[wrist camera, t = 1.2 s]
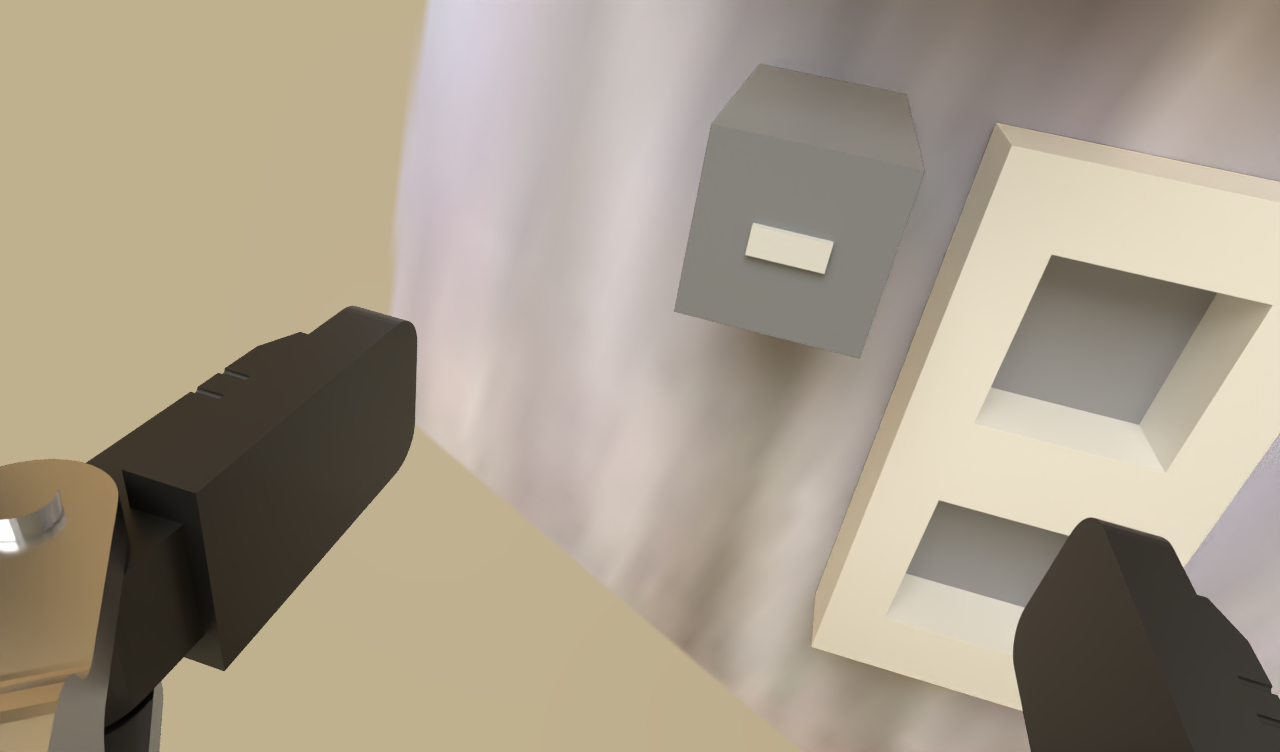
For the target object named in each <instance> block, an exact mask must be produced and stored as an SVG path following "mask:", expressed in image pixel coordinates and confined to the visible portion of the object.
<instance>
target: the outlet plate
mask: <svg viewBox="0 0 1280 752" xmlns="http://www.w3.org/2000/svg"><path fill="white" fill-rule="evenodd" d="M1279 433H1280V182H1278V181H1273V180H1268V179H1263V178H1259V177H1254V176H1249V175H1244V174H1240V173H1235V172H1230V171H1225V170H1220V169H1216V168H1211V167H1206V166H1201V165H1197V164H1192V163H1187V162H1182V161H1177V160H1173V159H1168V158H1163V157H1158V156H1154V155H1149V154H1144V153H1139V152H1135V151H1130V150H1125V149H1120V148H1115V147H1111V146H1106V145H1101V144H1096V143H1092V142H1087V141H1082V140H1077V139H1072V138H1068V137H1063V136H1058V135H1053V134H1049V133H1044V132H1039V131H1034V130H1030V129H1025V128H1020V127H1015V126H1010V125H1006V124H1001V123H996V124H995V127H994V129H993V132H992V135H991V137H990V140H989V142H988V145H987V148H986V150H985V153H984V155H983V158H982V161H981V163H980V166H979V168H978V171H977V174H976V176H975V179H974V181H973V184H972V187H971V189H970V192H969V195H968V197H967V200H966V202H965V205H964V208H963V210H962V213H961V215H960V218H959V221H958V223H957V226H956V228H955V231H954V234H953V236H952V239H951V241H950V244H949V247H948V249H947V252H946V254H945V257H944V260H943V262H942V265H941V268H940V270H939V273H938V275H937V278H936V281H935V283H934V286H933V288H932V291H931V294H930V296H929V299H928V301H927V304H926V307H925V309H924V312H923V314H922V317H921V320H920V322H919V325H918V327H917V330H916V333H915V335H914V338H913V341H912V343H911V346H910V348H909V351H908V354H907V356H906V359H905V361H904V364H903V367H902V369H901V372H900V374H899V377H898V380H897V382H896V385H895V387H894V390H893V393H892V395H891V398H890V400H889V403H888V406H887V408H886V411H885V414H884V416H883V419H882V421H881V424H880V427H879V429H878V432H877V434H876V437H875V440H874V442H873V445H872V447H871V450H870V453H869V455H868V458H867V460H866V463H865V466H864V468H863V471H862V473H861V476H860V479H859V481H858V484H857V487H856V489H855V492H854V494H853V497H852V500H851V502H850V505H849V507H848V510H847V513H846V515H845V518H844V520H843V523H842V526H841V528H840V531H839V533H838V536H837V539H836V541H835V544H834V546H833V549H832V552H831V554H830V557H829V560H828V562H827V565H826V567H825V570H824V573H823V575H822V578H821V580H820V583H819V586H818V588H817V591H816V594H815V607H814V620H813V633H812V646H811V647H813V648H817V649H820V650H823V651H826V652H830V653H833V654H836V655H840V656H843V657H846V658H849V659H853V660H856V661H859V662H863V663H866V664H869V665H872V666H876V667H879V668H882V669H886V670H889V671H892V672H895V673H899V674H902V675H905V676H909V677H912V678H915V679H918V680H922V681H925V682H928V683H932V684H935V685H938V686H941V687H945V688H948V689H951V690H955V691H958V692H961V693H964V694H968V695H971V696H974V697H978V698H981V699H984V700H987V701H991V702H994V703H997V704H1001V705H1004V706H1007V707H1010V708H1014V709H1017V710H1020V711H1023V710H1022V705H1021V700H1020V695H1019V690H1018V685H1017V680H1016V675H1015V670H1014V664H1013V644H1014V637H1015V632H1016V628H1017V625H1018V622H1019V619H1020V616H1021V614H1022V612H1023V610H1024V608H1025V607H1026V605H1027V603H1028V602H1029V600H1030V599H1031V597H1032V595H1033V594H1034V592H1035V590H1036V589H1037V587H1038V586H1039V584H1040V582H1041V581H1042V579H1043V578H1044V576H1045V574H1046V573H1047V571H1048V569H1049V568H1050V566H1051V565H1052V563H1053V561H1054V560H1055V558H1056V556H1057V555H1058V553H1059V552H1060V550H1061V548H1062V547H1063V545H1064V544H1065V542H1066V540H1067V539H1068V537H1069V535H1070V534H1071V532H1072V531H1073V529H1074V528H1075V527H1076V526H1077V525H1078V523H1080V522H1081V521H1082V520H1084V519H1086V518H1090V517H1092V518H1097V519H1100V520H1104V521H1107V522H1111V523H1114V524H1118V525H1122V526H1125V527H1129V528H1132V529H1136V530H1139V531H1143V532H1146V533H1150V534H1153V535H1157V536H1160V537H1163V538H1165V539H1167V540H1168V541H1169V542H1170V543H1171V545H1172V547H1173V548H1174V550H1175V552H1176V554H1177V556H1178V558H1179V560H1180V562H1181V564H1182V566H1183V568H1184V567H1185V566H1186V564H1187V563H1188V561H1189V560H1190V558H1191V557H1192V556H1193V554H1194V553H1195V551H1196V550H1197V549H1198V547H1199V546H1200V544H1201V543H1202V542H1203V540H1204V539H1205V537H1206V536H1207V535H1208V533H1209V532H1210V530H1211V529H1212V528H1213V526H1214V525H1215V523H1216V522H1217V521H1218V519H1219V518H1220V516H1221V515H1222V513H1223V512H1224V511H1225V509H1226V508H1227V506H1228V505H1229V504H1230V502H1231V501H1232V499H1233V498H1234V497H1235V495H1236V494H1237V492H1238V491H1239V490H1240V488H1241V487H1242V485H1243V484H1244V483H1245V481H1246V480H1247V478H1248V477H1249V475H1250V474H1251V473H1252V471H1253V470H1254V468H1255V467H1256V466H1257V464H1258V463H1259V461H1260V460H1261V459H1262V457H1263V456H1264V454H1265V453H1266V452H1267V450H1268V449H1269V447H1270V446H1271V445H1272V443H1273V442H1274V440H1275V439H1276V438H1277V436H1278V435H1279Z"/></svg>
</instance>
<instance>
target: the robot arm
mask: <svg viewBox="0 0 1280 752" xmlns="http://www.w3.org/2000/svg"><path fill="white" fill-rule="evenodd" d="M416 365H417V334H416V330H415V327H414V325H413V324H412V323H411V322H409V321H406V320H402V319H399V318H395V317H392V316H388V315H384V314H381V313H378V312H374V311H370V310H367V309H364V308H360V307H356V306H350V307H347V308H345V309H343V310H342V311H340V312H339V313H337V314H336V315H335V316H333V317H332V318H331V319H329V320H328V321H326V322H325V323H324V324H322V325H321V326H319V327H318V328H317V329H315V330H314V331H313V332H311V333H310V334H305V333H302V332H299V333H296V334H293V335H290V336H287V337H284V338H281V339H278V340H275V341H272V342H269V343H266V344H263V345H260V346H257V347H256V348H254V349H253V350H251V351H250V352H248V353H247V354H245V355H244V356H242V357H241V358H239V359H238V360H237V361H235V362H234V363H232V364H231V365H229V366H228V367H226V368H225V371H224V373H223V374H220V373H217V374H216V375H214V376H213V377H212V378H210V379H209V380H207V381H206V382H205V383H203V384H202V385H200V386H198V389H197V391H196V393H193V392H189V393H188V394H187V395H185V396H184V397H182V398H181V399H179V400H178V401H176V402H175V403H173V404H172V405H170V406H169V407H167V408H166V409H165V410H163V411H162V412H160V413H159V414H157V415H156V416H154V417H153V418H151V419H150V420H148V421H147V422H145V423H144V424H143V425H141V426H140V427H138V428H137V429H135V430H134V431H132V432H131V433H129V434H128V435H126V436H125V437H123V438H122V439H121V440H119V441H118V442H116V443H115V444H113V445H112V446H110V447H109V448H107V449H106V450H104V451H103V452H102V453H100V454H98V455H97V456H95V457H94V458H93V459H91V460H90V461H88V462H87V463H83V462H78V461H71V460H60V459H46V460H33V461H25V462H18V463H14V464H9V465H5V466H1V467H0V752H159V749H160V748H159V747H160V735H161V722H162V708H163V687H162V683H161V681H162V679H163V678H164V677H165V676H166V675H167V674H168V673H169V672H170V671H171V670H172V669H173V668H174V667H175V666H176V665H177V663H178V662H179V661H180V660H181V659H182V658H183V657H185V658H188V659H191V660H194V661H197V662H200V663H202V664H205V665H208V666H211V667H214V668H217V669H219V670H222V671H225V670H226V669H227V668H228V666H229V665H230V664H231V663H232V662H233V661H234V659H235V658H236V657H237V656H238V655H239V654H240V653H241V651H242V650H243V649H244V648H245V647H246V646H247V644H248V643H249V642H250V641H251V640H252V639H253V637H254V636H255V635H256V634H257V633H258V632H259V631H260V629H261V628H262V627H263V626H264V625H265V624H266V623H267V621H268V620H269V619H270V618H271V617H272V616H273V614H274V613H275V612H276V611H277V610H278V609H279V608H280V606H281V605H282V604H283V603H284V602H285V601H286V600H287V598H288V597H289V596H290V595H291V594H292V593H293V591H294V590H295V589H296V588H297V587H298V586H299V584H300V583H301V582H302V581H303V580H304V579H305V578H306V576H307V575H308V574H309V573H310V572H311V571H312V570H313V568H314V567H315V566H316V565H317V564H318V563H319V562H320V560H321V559H322V558H323V557H324V556H325V555H326V553H327V552H328V551H329V550H330V549H331V548H332V547H333V545H334V544H335V543H336V542H337V541H338V540H339V538H340V537H341V536H342V535H343V534H344V533H345V531H346V530H347V529H348V528H349V527H350V526H351V525H352V523H353V522H354V521H355V520H356V519H357V518H358V516H359V515H360V514H361V513H362V512H363V510H365V508H366V507H367V506H368V505H369V504H370V503H371V502H372V500H373V499H374V498H375V497H376V496H377V495H378V493H379V492H380V491H381V490H382V489H383V488H384V487H385V485H386V484H387V483H388V482H389V481H390V479H391V478H392V477H393V476H394V475H395V474H396V473H397V471H398V470H399V468H400V467H401V465H402V463H403V462H404V460H405V458H406V456H407V453H408V451H409V448H410V445H411V442H412V438H413V434H414V427H415V400H416ZM1013 664H1014V670H1015V675H1016V680H1017V685H1018V690H1019V695H1020V700H1021V705H1022V710H1023V714H1024V719H1025V724H1026V729H1027V734H1028V739H1029V744H1030V749H1031V752H1280V699H1279V697H1278V695H1275V694H1271V688H1272V684H1271V683H1270V681H1269V679H1268V677H1267V675H1266V673H1265V671H1264V670H1263V668H1262V666H1261V664H1260V662H1259V660H1258V659H1257V657H1256V655H1255V653H1254V651H1253V649H1252V647H1251V646H1250V644H1249V642H1248V641H1247V640H1246V639H1245V637H1244V636H1243V635H1242V634H1241V633H1240V632H1239V631H1238V630H1237V629H1236V628H1235V627H1234V626H1233V625H1232V624H1231V623H1230V621H1229V620H1228V619H1227V618H1226V617H1225V616H1224V615H1223V614H1222V613H1221V612H1220V611H1219V610H1218V609H1217V608H1216V607H1215V606H1214V604H1213V603H1212V602H1211V601H1210V600H1209V599H1208V598H1206V597H1202V596H1199V595H1197V594H1196V592H1195V590H1194V588H1193V586H1192V584H1191V582H1190V580H1189V578H1188V576H1187V574H1186V572H1185V570H1184V568H1183V566H1182V564H1181V562H1180V560H1179V558H1178V556H1177V554H1176V552H1175V550H1174V548H1173V547H1172V545H1171V543H1170V542H1169V541H1168V540H1167V539H1165V538H1163V537H1160V536H1157V535H1153V534H1150V533H1146V532H1143V531H1139V530H1136V529H1132V528H1129V527H1125V526H1122V525H1118V524H1114V523H1111V522H1107V521H1104V520H1100V519H1097V518H1092V517H1090V518H1086V519H1084V520H1082V521H1081V522H1080V523H1078V525H1077V526H1076V527H1075V528H1074V529H1073V531H1072V532H1071V534H1070V535H1069V537H1068V539H1067V540H1066V542H1065V544H1064V545H1063V547H1062V548H1061V550H1060V552H1059V553H1058V555H1057V556H1056V558H1055V560H1054V561H1053V563H1052V565H1051V566H1050V568H1049V569H1048V571H1047V573H1046V574H1045V576H1044V578H1043V579H1042V581H1041V582H1040V584H1039V586H1038V587H1037V589H1036V590H1035V592H1034V594H1033V595H1032V597H1031V599H1030V600H1029V602H1028V603H1027V605H1026V607H1025V608H1024V610H1023V612H1022V614H1021V616H1020V619H1019V622H1018V625H1017V628H1016V632H1015V637H1014V644H1013Z"/></svg>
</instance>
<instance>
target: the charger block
mask: <svg viewBox="0 0 1280 752" xmlns="http://www.w3.org/2000/svg"><path fill="white" fill-rule="evenodd" d="M924 172H925V169H924V164H923V160H922V156H921V152H920V148H919V144H918V140H917V136H916V132H915V128H914V124H913V120H912V116H911V112H910V108H909V104H908V100H907V96H906V94H902V93H897V92H893V91H888V90H883V89H878V88H873V87H869V86H864V85H859V84H854V83H849V82H844V81H840V80H835V79H830V78H825V77H820V76H816V75H811V74H806V73H801V72H796V71H792V70H787V69H782V68H777V67H772V66H768V65H763V64H759V65H758V67H757V68H756V69H755V70H754V72H753V73H752V74H751V75H750V77H749V78H748V79H747V80H746V81H745V83H744V84H743V85H742V86H741V88H740V89H739V90H738V91H737V93H736V94H735V95H734V96H733V98H732V99H731V100H730V101H729V102H728V104H727V105H726V106H725V107H724V109H723V110H722V111H721V112H720V114H719V115H718V116H717V117H716V118H715V120H714V121H713V122H712V123H711V128H710V133H709V138H708V143H707V148H706V153H705V158H704V163H703V168H702V173H701V178H700V183H699V188H698V193H697V198H696V203H695V208H694V214H693V219H692V224H691V229H690V234H689V239H688V244H687V249H686V254H685V259H684V264H683V269H682V274H681V279H680V284H679V289H678V294H677V299H676V304H675V309H674V312H678V313H682V314H686V315H690V316H694V317H698V318H702V319H706V320H710V321H714V322H717V323H721V324H725V325H729V326H733V327H737V328H741V329H745V330H749V331H753V332H757V333H761V334H765V335H769V336H773V337H777V338H781V339H785V340H788V341H792V342H796V343H800V344H804V345H808V346H812V347H816V348H820V349H824V350H828V351H832V352H836V353H840V354H844V355H848V356H852V357H855V358H859V359H860V356H861V353H862V350H863V347H864V344H865V341H866V339H867V336H868V333H869V330H870V327H871V324H872V321H873V318H874V316H875V313H876V310H877V307H878V304H879V301H880V298H881V295H882V293H883V290H884V287H885V284H886V281H887V278H888V275H889V272H890V270H891V267H892V264H893V261H894V258H895V255H896V252H897V249H898V247H899V244H900V241H901V238H902V235H903V232H904V229H905V226H906V224H907V221H908V218H909V215H910V212H911V209H912V206H913V203H914V201H915V198H916V195H917V192H918V189H919V186H920V183H921V181H922V178H923V175H924Z"/></svg>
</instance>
